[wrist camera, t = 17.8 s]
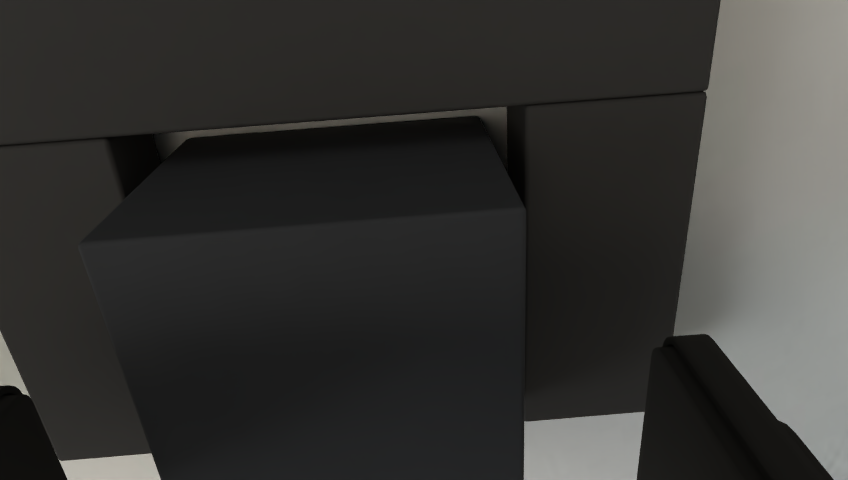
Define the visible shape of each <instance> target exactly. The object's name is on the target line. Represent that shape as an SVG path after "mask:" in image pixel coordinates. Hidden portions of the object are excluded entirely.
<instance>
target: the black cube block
mask: <svg viewBox="0 0 848 480" xmlns="http://www.w3.org/2000/svg"><path fill="white" fill-rule="evenodd" d="M78 249H79V252H80V255H81V257H82V260H83V263H84V266H85V268H86V271H87V274H88V277H89V280H90V282H91V285H92V288H93V291H94V294H95V296H96V299H97V302H98V305H99V308H100V310H101V313H102V316H103V319H104V322H105V324H106V327H107V330H108V333H109V335H110V338H111V341H112V344H113V347H114V349H115V352H116V355H117V358H118V361H119V363H120V366H121V369H122V372H123V375H124V377H125V380H126V383H127V386H128V389H129V391H130V394H131V397H132V400H133V402H134V405H135V408H136V411H137V414H138V416H139V419H140V422H141V425H142V428H143V430H144V433H145V436H146V439H147V442H148V444H149V447H150V450H151V453H152V455H153V458H154V461H155V464H156V467H157V469H158V472H159V475H160V478H161V480H524V388H525V290H526V209H525V207H524V205H523V203H522V201H521V199H520V197H519V195H518V193H517V191H516V189H515V187H514V185H513V183H512V181H511V179H510V177H509V175H508V173H507V171H506V169H505V167H504V165H503V163H502V162H501V160H500V158H499V156H498V154H497V152H496V150H495V148H494V146H493V144H492V142H491V140H490V138H489V136H488V134H487V132H486V130H485V128H484V126H483V124H482V122H481V120H480V118H479V117H477V116H475V117H462V118H449V119H436V120H423V121H410V122H397V123H384V124H372V125H359V126H346V127H333V128H320V129H307V130H294V131H281V132H268V133H255V134H243V135H230V136H217V137H204V138H191V139H187V140H186V141H185V142H183V143H182V144H181V145H180V146H179V147H178V148H177V149H176V150H175V151H174V152H173V153H172V154H171V155H170V156H169V157H168V158H167V159H166V160H165V161H164V162H163V163H162V164H161V165H160V166H158V167H157V168H156V169H155V170H154V171H153V172H152V173H151V174H150V175H149V176H148V177H147V178H146V179H145V180H144V181H143V182H142V183H141V184H140V185H139V186H138V187H137V188H136V189H135V190H133V191H132V192H131V193H130V194H129V195H128V196H127V197H126V198H125V199H124V200H123V201H122V202H121V203H120V204H119V205H118V206H117V207H116V208H115V209H114V210H113V211H112V212H111V213H110V214H108V215H107V216H106V217H105V218H104V219H103V220H102V221H101V222H100V223H99V224H98V225H97V226H96V227H95V228H94V229H93V230H92V231H91V232H90V233H89V234H88V235H87V236H86V237H85V238H83V239H82V240H81V241H80V242H79V245H78Z"/></svg>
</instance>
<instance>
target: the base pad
mask: <svg viewBox="0 0 848 480" xmlns="http://www.w3.org/2000/svg"><path fill="white" fill-rule="evenodd" d="M719 7H720V0H0V331H1V333H2V335H3V337H4V340H5V342H6V344H7V346H8V349H9V351H10V353H11V355H12V357H13V360H14V362H15V364H16V366H17V368H18V371H19V373H20V375H21V377H22V379H23V382H24V384H25V386H26V388H27V391H28V393H29V395H30V397H31V399H32V401H33V403H34V405H35V407H36V410H37V412H38V414H39V416H40V419H41V421H42V423H43V425H44V428H45V430H46V432H47V435H48V437H49V439H50V441H51V444H52V446H53V448H54V450H55V452H56V455H57V457H58V459H59V460H61V461H65V460H77V459H89V458H101V457H113V456H124V455H136V454H148V453H151V450H150V447H149V444H148V442H147V439H146V436H145V433H144V430H143V428H142V425H141V422H140V419H139V416H138V414H137V411H136V408H135V405H134V402H133V400H132V397H131V394H130V391H129V389H128V386H127V383H126V380H125V377H124V375H123V372H122V369H121V366H120V363H119V361H118V358H117V355H116V352H115V349H114V347H113V344H112V341H111V338H110V335H109V333H108V330H107V327H106V324H105V322H104V319H103V316H102V313H101V310H100V308H99V305H98V302H97V299H96V296H95V294H94V291H93V288H92V285H91V282H90V280H89V277H88V274H87V271H86V268H85V266H84V263H83V260H82V257H81V255H80V252H79V249H78V245H79V242H80V241H81V240H82V239H83V238H85V237H86V236H87V235H88V234H89V233H90V232H91V231H92V230H93V229H94V228H95V227H96V226H97V225H98V224H99V223H100V222H101V221H102V220H103V219H104V218H105V217H106V216H107V215H108V214H110V213H111V212H112V211H113V210H114V209H115V208H116V207H117V206H118V205H119V204H120V203H121V202H122V201H123V200H124V199H125V198H126V197H127V196H128V195H129V194H130V193H131V192H132V191H133V190H135V189H136V188H137V187H138V186H139V185H140V184H141V183H142V182H143V181H144V180H145V179H146V178H147V177H148V176H149V175H150V174H151V173H152V172H153V171H154V170H155V169H156V168H157V167H158V166H160V161H159V157H158V154H157V150H156V146H155V143H154V139H153V135H152V134H156V133H169V132H182V131H195V130H208V129H220V128H233V127H246V126H259V125H272V124H285V123H298V122H311V121H324V120H337V119H350V118H363V117H376V116H389V115H402V114H415V113H428V112H441V111H453V110H466V109H479V108H492V107H505V106H507V155H508V175H509V177H510V179H511V181H512V183H513V185H514V187H515V189H516V191H517V193H518V195H519V197H520V199H521V201H522V203H523V205H524V207H525V209H526V290H525V388H524V421H538V420H550V419H562V418H574V417H585V416H597V415H609V414H621V413H633V412H645V405H646V397H647V388H648V380H649V371H650V363H651V355H652V351H653V349H654V348H656V347H662V346H663V342H664V340H665V339H666V338H667V337H672V336H673V332H674V325H675V318H676V311H677V304H678V297H679V290H680V283H681V276H682V268H683V261H684V254H685V247H686V240H687V233H688V226H689V219H690V212H691V205H692V198H693V190H694V183H695V176H696V169H697V162H698V155H699V148H700V141H701V134H702V127H703V120H704V112H705V105H706V98H707V97H706V93H705V92H703V91H704V90H707V88H708V85H709V78H710V71H711V64H712V57H713V50H714V43H715V36H716V28H717V21H718V14H719Z"/></svg>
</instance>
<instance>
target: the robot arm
mask: <svg viewBox="0 0 848 480" xmlns="http://www.w3.org/2000/svg"><path fill="white" fill-rule="evenodd" d="M0 480H67V478H66V475H65V473H64V471H63V469H62V466H61V464H60V462H59V460H58V457H57V455H56V453H55V450H54V448H53V446H52V444H51V441H50V439H49V437H48V435H47V432H46V430H45V428H44V425H43V423H42V421H41V419H40V416H39V414H38V412H37V410H36V407H35V405H34V403H33V401H32V399H31V398H30V397H29V396H27V395H24V394H22V393H21V391H20V390H19V389H18V388H16V387H15V386H0ZM637 480H833V478H832V477H831V476H830V475H829V473H828V472H827V471H826V470H825V469H824V467H823V466H822V465H821V464H820V462H819V461H818V460H817V459H816V457H815V456H814V455H813V454H812V453H811V451H810V450H809V449H808V448H807V446H806V445H805V444H804V443H803V442H802V440H801V439H800V438H799V437H798V435H797V434H796V433H795V432H794V431H793V430H792V429H791V428H790V427H789V426H788V425H787V424H785V423H783V422H781V421H778V420H777V419H776V417H775V416H774V415H773V414H772V412H771V411H770V410H769V409H768V407H767V406H766V405H765V404H764V402H763V401H762V400H761V399H760V397H759V396H758V395H757V394H756V392H755V391H754V390H753V389H752V387H751V386H750V385H749V384H748V382H747V381H746V380H745V379H744V377H743V376H742V375H741V374H740V373H739V371H738V370H737V369H736V368H735V366H734V365H733V364H732V363H731V361H730V360H729V359H728V358H727V356H726V355H725V354H724V353H723V351H722V350H721V349H720V348H719V346H718V345H717V344H716V343H715V341H714V340H713V339H712V338H711V337H710V336H709V335H706V334H699V335H685V336H672V337H667V338H666V339H665V340H664V342H663V346H662V347H656V348H654V349H653V351H652V355H651V363H650V371H649V380H648V388H647V397H646V405H645V414H644V422H643V431H642V439H641V448H640V456H639V465H638V473H637Z"/></svg>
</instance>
